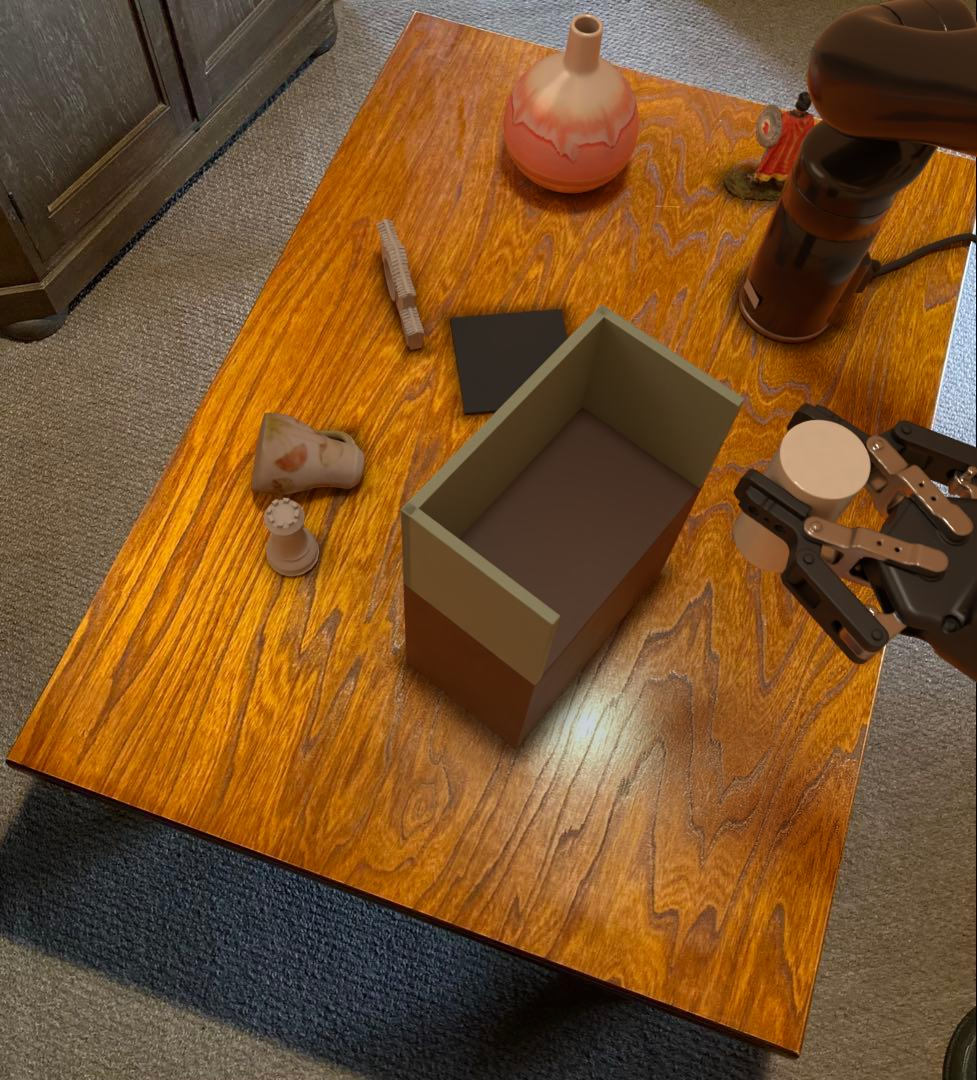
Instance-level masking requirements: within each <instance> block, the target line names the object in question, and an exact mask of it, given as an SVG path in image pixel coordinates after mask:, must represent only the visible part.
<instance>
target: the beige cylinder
mask: <svg viewBox="0 0 977 1080" xmlns="http://www.w3.org/2000/svg"><path fill="white" fill-rule="evenodd" d="M762 474H763V475H765V476H766V477H767V478H769V479H770V480H772V481H773V482H775V483H776V484H778V485H779V486H781V487H782V488H784V489H785V490H786V491H788V492H789V493H791V494H792V495H793V496H794V497H796V498H797V499H799V500H801V501H802V502H804V503H805V504H807V505H808V506H810V507H811V508H812V509H811V510H810V512H809V513H808V515H810V516H811V517H812V516H817V517H821V518H823V519H826V520H829V521H832V522H835V523H838V520H840V518H841V517H842V515H844V513H845V511H846V510H847V509H848V507H849V506H850V505H851V504H852V502H853V501H854V500H855V499H856V497H857V496H858V494H859V493H860V492H861V491H862V490H863V488H865V487H864V485H865V484H866V482H867V480H868V478H869V475H870V458H869V454H868V452H867V450H866V448H865V446H864V444H863V443H862V442H861V440H860V439H859V438H858V437H857V436H856V435H855V434H854V433H853V432H851V431H850V430H848V429H847V428H845V427H843V426H841V425H839V424H837V423H834V422H830V421H825V420H811V421H806V422H803V423H800V424H798V425H796V426H794V427H793V428H792V429H790V430H789V431H788V430H787V432H786V433H785V434H784V436H783V438H782V440H781V441H780V442H779V445H778V446H777V448H776V450H775V452H774V453H773V455H772V456H771V458H770V460H769V461H768V463H767V465H766V467H765V468H764V470H763V471H762ZM733 539H734V542H735V546H736V548H737V550H738V552H739V553H740V554H741V556H742V557H743V558H744V559H745V560H746V561H747V562H748V563H750V564H751V565H752V566H754V567H755V568H758V569H760V570H762V571H765V572H768V573H776V574H780V573H781V574H782V573H783V571H784V570H785V569H786V565H787V561H788V556H789V548H788V546H787V544H786V543H785V542H784V541H783V540H782V539H781V538H779V537H778V536H776V535H775V534H773V533H772V532H771V531H769V530H768V529H766V528H765V527H763V526H762V525H761V524H760V523H758V522H756V521H755V520H754V519H752V518H750V517H749V516H748V515H746V514H745V513H744V512H743V511H742V510H741V509H740V511H739V513H738V515H737V516H736V519H735V521H734V523H733Z"/></svg>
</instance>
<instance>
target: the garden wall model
mask: <svg viewBox="0 0 977 1080" xmlns="http://www.w3.org/2000/svg"><path fill="white" fill-rule="evenodd" d="M375 224H376V229H377V233H378V236H379V238H380V242H381V259H382V262H383V269H384V275H385V280H386V285H387V290H388V292H389V295H390V298H391V300H392V302H395V304H396V307H397V312H398V314H399V317H400V320H401V328H402V331H403V334H404V338H405V341H406V345H407V347H408V348H409V350H410V351H411V350H417V349H422V348H423V345H424V334H425V329H424V327H423V324H422V321H421V318H420V314H419V311H418V308H417V305H415V298H416V297H417V292H416V289H415V287H414V284H413V281H412V277H411V273H410V269H409V265H408V264H409V263H410V262H409V258H408V254H407V253H406V252H407V250H405V247H406V246H404V245H403V242H401V240H400V238H399V236H398V234H397V230H396V227H395V224H394V220H389V219H388V218H384V219H383V220H382V221H380V222H378V223H375Z"/></svg>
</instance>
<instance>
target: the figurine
mask: <svg viewBox="0 0 977 1080" xmlns="http://www.w3.org/2000/svg"><path fill="white" fill-rule="evenodd" d="M812 104H813V103H812V101H811V98H810V95H809V91H801V92H799V94H798V96H797V100H796V103H795V104H794V105H793V106H794V108H795V109H791V110H787V111H785V112H784V113H782V110H781V109H780V107H779V106H777V105H776V104H767V105H766V106H765V107H764V108H763V109H762V110H761V112H760V113H759V115H758V118H757V120H756V124H755V125H756V126H755V138H756V139H755V141H756V142H757V143H758V145H759V146H760V147H762V148H764V149H765V150H764V151H763V153H762V155H761V159H760V163H759V164H758V167H757V168H756V170H754V169H739V170H735V171H732V172H731V171H730V172H726V174H725V176H724V182H723V183H724V185H725V187H726V189H727V191H728V192H730V194H731V195H732V196H733V197H735V196H736V197H737V198H739V199H741V200H745V199H748V200H751V199H754V200H756V201H758V200H760V201H763V200H766V201H768V202H769V201H771V202H773V201H778V198H779V196H780V193H781V191H782V188H783V186H784V183H785V181H786V178H787V176H788V174H789V171H790V169H791V166H792V164H793V161H794V159H795V157H796V154H797V152H798V149H799V147H800V145H801V143H802V141H803V139H804V137H805V136H806V134H807V133H808V132H809V131H810V130H811V129H812V128H813V127H814V126H815V117H814V114H813V113H809V112H808V110H809V109H810V107H811V106H812Z"/></svg>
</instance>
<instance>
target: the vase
mask: <svg viewBox="0 0 977 1080" xmlns="http://www.w3.org/2000/svg"><path fill="white" fill-rule="evenodd" d="M568 29H569V30H568V34H567V41H566V47H565V50H563V51H562V50H561V51H558V52H554V53H551V54H549V55H547V56H545V57H543V58H541V59H539V60H538V61H536V62H534V63H533V64H532V65H531V66H529V67H528V68H527V69H526V70H525V71H524V72H523V73H522V74H521V76H520V77H519V78H518V80H517V82H516V83H515V84H514V86H513V88H512V90H511V92H510V94H509V96H508V99H507V101H506V104H505V107H504V114H503V121H502V123H503V127H502V129H503V139H504V143H505V147H506V150H507V152H508V155H509V157H510V158H511V160H512V163H514V165H515V166H516V168H517V169H518V170H519V171H520V173H521V174H522V175H524V177H525V178H527V179H528V180H530V181H531V182H533V184H535V185H537V186H538V187H540V188H544V189H546V190H549V191H552V192H557V193H562V194H579V193H580V194H581V193H586V192H589V191H593V190H595V189H597V188H601V187H602V186H604V185H606V184H608V183H609V182H610V181H611V180H614V178H615V177H617V176H618V175H620V173H621V172H622V170H623V169H624V168H625V167H626V165H627V164H628V163H629V161H630V159H631V157H632V156H633V153H634V151H635V148H636V145H637V142H638V137H639V127H640V116H639V108H638V102H637V99H636V96H635V93H634V91H633V89H632V86H631V85H630V82H628V80H627V78H626V77H625V75H623V73H622V72H621V71H620V70H619V68H617V66H615V65H614V64H613V63H612V62H610V61H609V60H607V59H606V58H604V57H603V56H600V54H601V48H602V42H603V41H602V40H603V35H604V23H603V22H602V20H601V19H600V18H599V17H598V16H596V15H593V14H590V13H582V14H578V15H576V16H574V17H573V18H572V19H571V21H570V24H569V28H568Z"/></svg>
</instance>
